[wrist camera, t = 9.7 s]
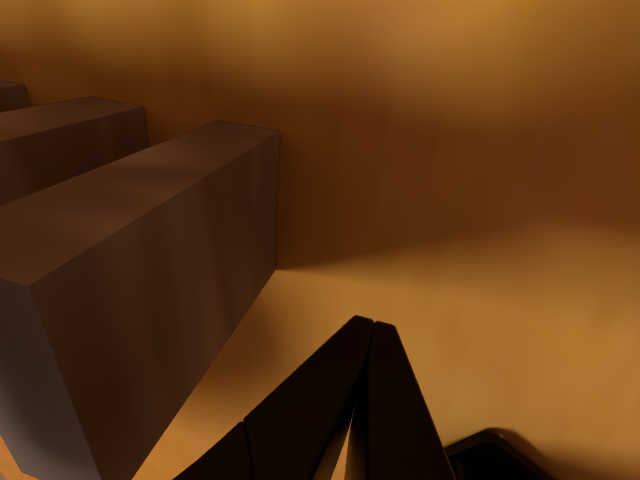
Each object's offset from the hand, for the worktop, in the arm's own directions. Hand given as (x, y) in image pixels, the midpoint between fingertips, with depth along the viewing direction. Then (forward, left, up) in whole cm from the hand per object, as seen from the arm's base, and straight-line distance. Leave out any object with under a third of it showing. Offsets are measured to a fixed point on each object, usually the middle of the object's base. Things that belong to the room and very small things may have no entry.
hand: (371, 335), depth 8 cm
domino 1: (+4, +2, -5) cm, 7 cm away
